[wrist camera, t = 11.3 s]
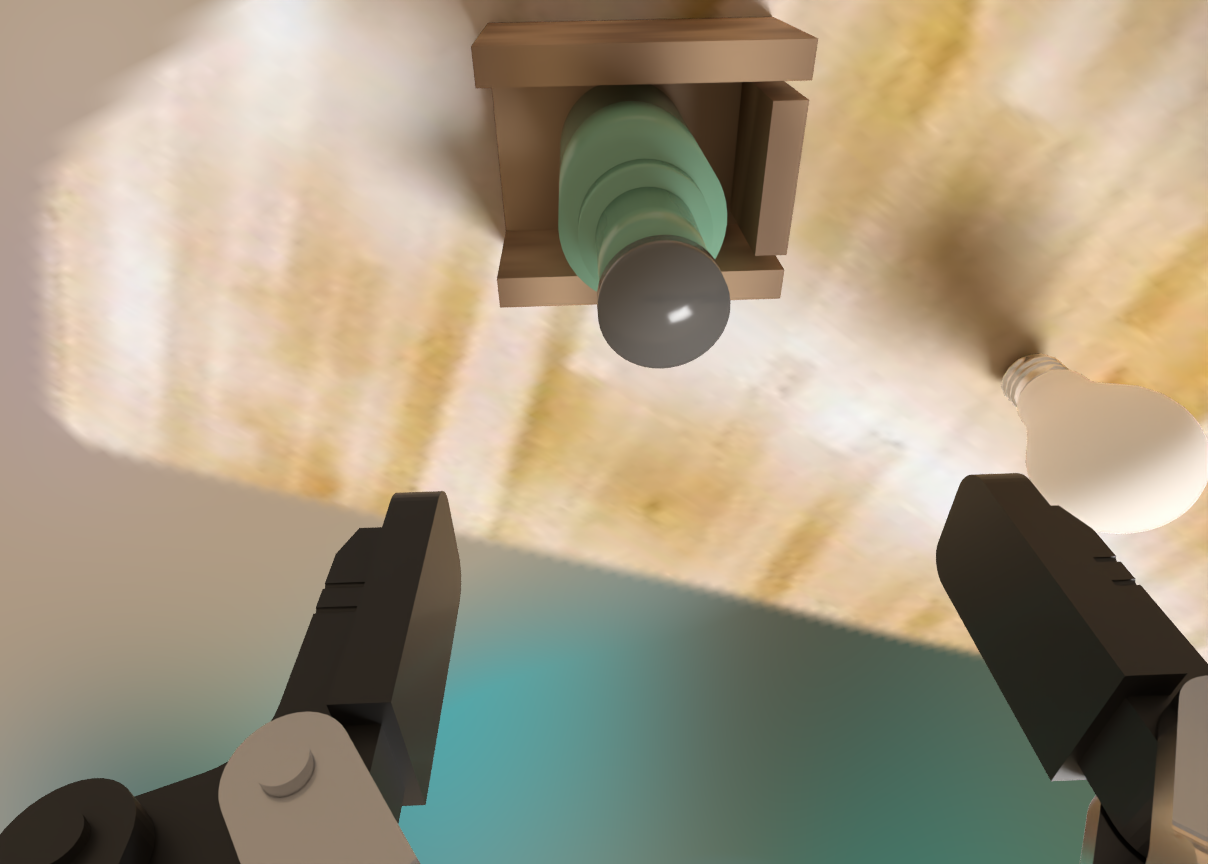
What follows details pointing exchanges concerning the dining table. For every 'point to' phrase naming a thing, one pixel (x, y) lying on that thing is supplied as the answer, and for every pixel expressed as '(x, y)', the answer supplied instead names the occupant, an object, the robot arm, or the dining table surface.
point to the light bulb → (1107, 447)
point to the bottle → (643, 224)
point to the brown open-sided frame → (703, 98)
